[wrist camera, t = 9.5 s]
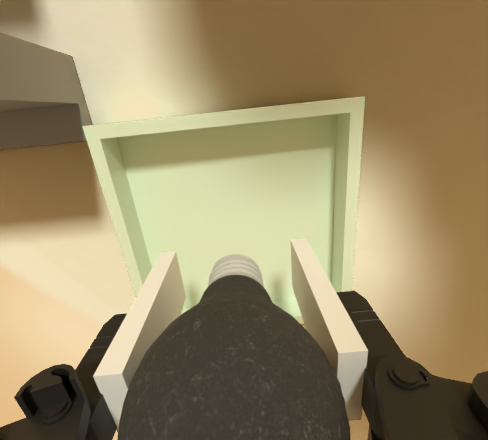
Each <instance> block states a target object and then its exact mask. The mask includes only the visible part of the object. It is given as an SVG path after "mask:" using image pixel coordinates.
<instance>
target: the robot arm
mask: <svg viewBox="0 0 488 440" xmlns="http://www.w3.org/2000/svg"><path fill="white" fill-rule="evenodd" d="M291 266H292V287H293V290H294V293H295V297H296V300H297V303H298V306H299V309H300V312H301V315H302V319H303V322H304V325H305V328H306V330H307V331H308V332H309V333H310V335H311V336H312V337H313V338H314V339H315V341H316V342H317V343H318V344H319V345H320V347H321V348H322V350H323V351H324V353H325V355H326V357H327V359H328V361H329V363H330V364H331V366H332V368H333V370H334V373H335V375H336V377H337V379H338V381H339V383H340V385H341V390H342V394H343V397H344V399H345V405H346V413H347V417H348V420H359V419H361V415H362V407H363V410H364V412H365V414H366V417H367V419H368V421H369V432H368V440H488V372H483V373H479V374H477V375H476V377H475V378H474V379H473V382H472V384H471V383H466V382H460V381H455V380H450V379H445V378H441V377H437V376H434V375H431V374H430V373H429V372H428V371H427V370H426V369H425V368H424V367H423V366H421V365H420V364H419V363H417V362H415V361H413V360H411V359H410V358H407V357H406V356H405V355H404V354H403V352H402V351H401V349H400V348H399V347H398V345H397V344H396V342H395V341H394V339H393V338H392V336H391V335H390V333H389V332H388V331H387V329H386V328H385V326H384V325H383V323H382V322H381V320H379V318H378V316H377V315H376V313H375V312H374V311H373V309H372V307H371V306H370V305H369V303H368V302H367V300H366V299H365V298H364V297H362V296H361V295H359V294H358V293H357V292H355V291H346V292H336V291H335V290H334V288H333V286H332V284H331V282H330V280H329V279H328V277H327V275H326V273H325V271H324V270H323V268H322V266H321V264H320V262H319V261H318V259H317V257H316V255H315V253H314V251H313V250H312V248H311V246H310V244H309V242H308V241H307V239H306V238H303V239H293V240H291ZM185 299H186V295H185V290H184V286H183V281H182V276H181V272H180V267H179V263H178V258H177V254H176V251H172V252H162V253H160V255H159V256H158V258H157V260H156V262H155V264H154V266H153V267H152V269H151V271H150V273H149V275H148V277H147V278H146V280H145V282H144V284H143V286H142V287H141V289H140V291H139V293H138V295H137V297H136V298H135V300H134V302H133V304H132V306H131V308H130V309H129V311H128V313H127V314H117V315H114V316H113V317H112V318H111V319H110V320H109V321H108V322H107V323H105V324H104V325H103V327H102V329H101V330H100V332H99V333H98V335H97V338H96V339H95V340H94V342H93V343H92V345H91V346H90V349H88V351H87V353H86V354H85V356H84V357H83V359H82V361H81V362H80V364H79V365H78V367H77V369H76V370H74V368H73V367H72V366H70V365H66V364H61V365H55V366H52V367H50V368H48V369H45V370H43V371H41V372H40V373H38V374H37V375H35V376H33V377H32V378H31V379H30V380H29V381H27V382H26V383H25V384H24V385H23V386H22V387H21V388H20V390H19V391H18V393H17V394H16V396H15V397H14V398H15V399H16V401H17V403H18V404H19V406H20V407H21V409H22V410H23V412H24V414H25V415H26V418H24V419H21V420H19V421H16V422H13V423H11V424H8V425H6V426H3V427H0V440H112V439H113V436H114V433H115V431H116V430H117V432H118V430H119V421H120V417H121V412H122V407H123V403H124V400H125V397H126V394H127V391H128V387H129V384H130V382H131V380H132V378H133V376H134V374H135V372H136V370H137V368H138V366H139V364H140V363H141V361H142V359H143V357H144V355H145V353H146V351H147V350H148V349H149V348H150V346H151V345H152V344H153V343H154V341H155V340H156V339H157V338H158V337H159V336H160V335H161V334H162V332H163V331H164V330H165V329H166V328H167V327H168V325H169V324H170V323H172V322H173V321H174V320H175V319H176V318H178V317H179V316H180V315H181V313H182V309H183V306H184V302H185Z"/></svg>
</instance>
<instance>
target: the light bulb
mask: <svg viewBox="0 0 488 440" xmlns="http://www.w3.org/2000/svg"><path fill="white" fill-rule="evenodd" d="M118 440H350V426H349V422H348V417H347V413H346V405H345V399H344V397H343V394H342V390H341V385H340V383H339V381H338V379H337V377H336V375H335V373H334V370H333V368H332V366H331V364H330V363H329V361H328V359H327V357H326V355H325V353H324V351H323V350H322V348H321V347H320V345H319V344H318V343H317V342H316V341H315V339H314V338H313V337H312V336H311V335H310V333H309V332H308V331H307V330H306V329H305V328H304V327H303V326H302V325H301V324H300V323H299V322H298V321H297V320H296V319H295V318H294V317H293V316H292V315H290V314H289V313H287V312H286V311H284V310H283V309H281V308H280V307H278V306H277V305H275V304H273V302H272V300H271V298H270V296H269V294H268V293H267V291H266V289H265V288H264V285H263V279H262V274H261V272H260V269H259V267H258V265H257V263H256V262H255V261H254V260H253V259H251V258H249V257H248V256H245V255H241V254H231V255H227V256H225V257H222V258H221V259H219V260H218V261H217V262H216V263H215V265H214V266H213V269H212V272H211V274H210V276H209V282H208V287H207V289H206V290H205V291H204V293H203V295H202V297H201V300H200V302H199V303H198V304H197V305H195V306H194V307H192V308H190V309H189V310H187V311H186V312H184V313H183V314H181V315H180V316H179V317H178V318H176V319H175V320H174V321H173V322H172V323H170V324H169V325H168V327H167V328H166V329H165V330H164V331H163V332H162V334H161V335H160V336H159V337H158V338H157V339H156V340H155V341H154V343H153V344H152V345H151V346H150V348H149V349H148V350H147V351H146V353H145V355H144V357H143V359H142V361H141V363H140V364H139V366H138V368H137V370H136V372H135V374H134V376H133V378H132V380H131V382H130V384H129V387H128V391H127V394H126V397H125V400H124V403H123V407H122V412H121V417H120V421H119V430H118Z"/></svg>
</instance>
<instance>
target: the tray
mask: <svg viewBox="0 0 488 440" xmlns="http://www.w3.org/2000/svg"><path fill="white" fill-rule="evenodd" d="M364 106H365V96H360V97H351V98H341V99H332V100H323V101H313V102H304V103H295V104H285V105H276V106H267V107H257V108H248V109H239V110H229V111H220V112H211V113H201V114H192V115H183V116H173V117H164V118H155V119H145V120H136V121H127V122H117V123H108V124H99V125H89V126H82V127H83V130H84V133H85V137H86V140H87V143H88V146H89V149H90V153H91V156H92V159H93V162H94V165H95V169H96V172H97V175H98V178H99V181H100V185H101V188H102V191H103V194H104V197H105V201H106V204H107V207H108V210H109V213H110V217H111V220H112V223H113V226H114V229H115V233H116V236H117V239H118V242H119V245H120V249H121V252H122V255H123V258H124V261H125V265H126V268H127V271H128V274H129V277H130V281H131V284H132V287H133V290H134V293H135V297H137V295H138V293H139V291H140V289H141V287H142V286H143V284H144V282H145V280H146V278H147V277H148V275H149V273H150V271H151V269H152V267H153V266H154V264H155V262H156V260H157V258H158V256H159V255H160V253H162V252H172V251H176V254H177V258H178V263H179V267H180V272H181V276H182V281H183V286H184V290H185V295H186V299H185V302H184V306H183V309H182V313H181V314H183V313H184V312H186V311H187V310H189V309H190V308H192V307H194V306H195V305H197V304H198V303H199V302H200V300H201V297H202V295H203V293H204V291H205V290H206V289H207V287H208V282H209V276H210V274H211V272H212V269H213V266H214V265H215V263H216V262H217V261H218V260H219V259H221V258H222V257H225V256H227V255H231V254H241V255H245V256H248V257H249V258H251V259H253V260H254V261H255V262H256V263H257V265H258V267H259V269H260V272H261V274H262V279H263V285H264V288H265V289H266V291H267V293H268V294H269V296H270V298H271V300H272V302H273V304H275V305H277V306H278V307H280V308H281V309H283V310H284V311H286V312H287V313H289V314H290V315H292V316H293V317H294V318H295V319H296V320H297V321H298V322H299V323H300V324H304V322H303V319H302V315H301V312H300V309H299V306H298V303H297V300H296V297H295V293H294V290H293V287H292V266H291V240H293V239H303V238H306V239H307V241H308V242H309V244H310V246H311V248H312V250H313V251H314V253H315V255H316V257H317V259H318V261H319V262H320V264H321V266H322V268H323V270H324V271H325V273H326V275H327V277H328V279H329V280H330V282H331V284H332V286H333V288H334V290H335V291H336V292H346V291H352V283H353V268H354V253H355V238H356V224H357V209H358V194H359V179H360V165H361V150H362V135H363V120H364Z"/></svg>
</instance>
